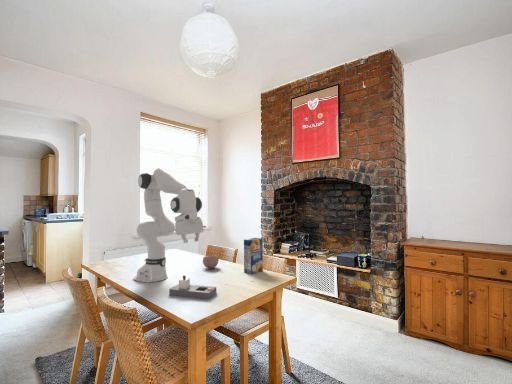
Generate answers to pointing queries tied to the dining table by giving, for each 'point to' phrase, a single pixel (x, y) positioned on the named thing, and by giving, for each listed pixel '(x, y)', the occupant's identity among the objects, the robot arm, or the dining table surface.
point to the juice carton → (253, 255)
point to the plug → (184, 283)
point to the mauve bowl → (210, 261)
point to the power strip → (193, 292)
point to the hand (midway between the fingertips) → (191, 242)
